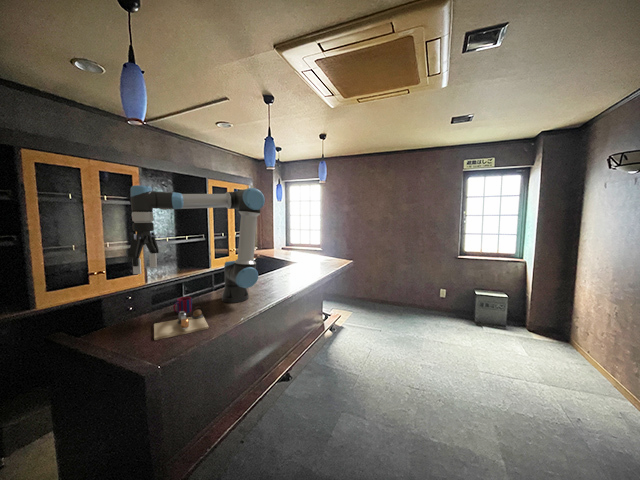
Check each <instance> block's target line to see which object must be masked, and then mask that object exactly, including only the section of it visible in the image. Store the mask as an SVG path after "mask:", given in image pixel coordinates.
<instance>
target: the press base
mask: <svg viewBox="0 0 640 480" xmlns="http://www.w3.org/2000/svg"><path fill="white" fill-rule="evenodd" d="M187 319H189V327H188V328H186V329H183V328H181V322H179V318H177V319H172V320H167V321H161V322H156V323H154V324H153V339H154V341H157V340H162V339H167V338H172V337H177V336H181V335H185V334H190V333H196V332H200V331H204V330H209V328H210V327H209V325H208V322H207V321H206V318H205V316H204V314H203V312H202V310H201V309H195V310H194V311H193V313H192V316H188V317H187Z"/></svg>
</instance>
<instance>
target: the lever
mask: <svg viewBox="0 0 640 480" xmlns="http://www.w3.org/2000/svg"><path fill="white" fill-rule="evenodd" d="M187 314H188V313H186V312H184V311H181V312H179V313H178V319H179V322H181V328H183V329H186V328H188V327H189V319H187V318H188V317H187V316H188V315H187Z"/></svg>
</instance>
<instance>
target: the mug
mask: <svg viewBox="0 0 640 480" xmlns="http://www.w3.org/2000/svg"><path fill="white" fill-rule="evenodd" d="M176 308H177V309H176ZM172 309H173V312H175V313H177V314H179V312H181V311H184V312H186V313H187V314H189V313H191V312H192V311H193V299H192V297H191V296H182V297H178V298H176V302H175V303H174V304H173V308H172Z"/></svg>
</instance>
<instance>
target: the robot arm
mask: <svg viewBox="0 0 640 480" xmlns="http://www.w3.org/2000/svg"><path fill="white" fill-rule="evenodd" d="M152 188H153V187H152V186H149V185H139V184H138V185H131V186H130V205H131V206H130V207H131V219H132V231H133V232H136V233H133V234H131V241H130V248H129V252H128V256H127V257H128V258H129V259H132V260H131V261H132V275H142V261H141V258H140V256H141V253H142V251H143V248H144V246H146V248H147V250H148V251H149V253H148V254H149V255H148V257H149V268H150V269H151V268H152V269H153V268H158V261H157V258H158V257H157V254H160V253H159V247H158V243H157V240H156V236H155V232H154V230H155V225H154V212H153V209H158V210H162V211H163V210H165V211H166V210H182V209H183V210H184V209H186V210H187V209H215V208H216V209H217V208H226V209H228V210H238V213H239V215H240V223H239V225H240V226H239V237H238V248H237V258H236V259H235V260H229V261H225V262H224V265H223V266H224V267H223V269H224V289H223V292H222V294H221V295H222V296H221V301H222V302H224V303H231V304H235V303H241V302H244V301H247V300H249V296H250V295H249V291H248V288H251V287H253V286H254V285H255V284H256V283H257V282H258V280H259V273H258V270H257V269H256V268H257V262H256V261H255V259H254V257H255V249H256V248H255V247H256V234H257V224H258V223H257V222H258V216H260V215H261V209H262V208H263V207H264V205H265V201H266V199H265V195H264V194H263V192H262V191H261V190H260V189H258V188H255V187H247V188H245V189H240V190H235V191H226V192H225V193H180V192H175V191H171V192H170V191H154V190H153V189H152Z"/></svg>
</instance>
